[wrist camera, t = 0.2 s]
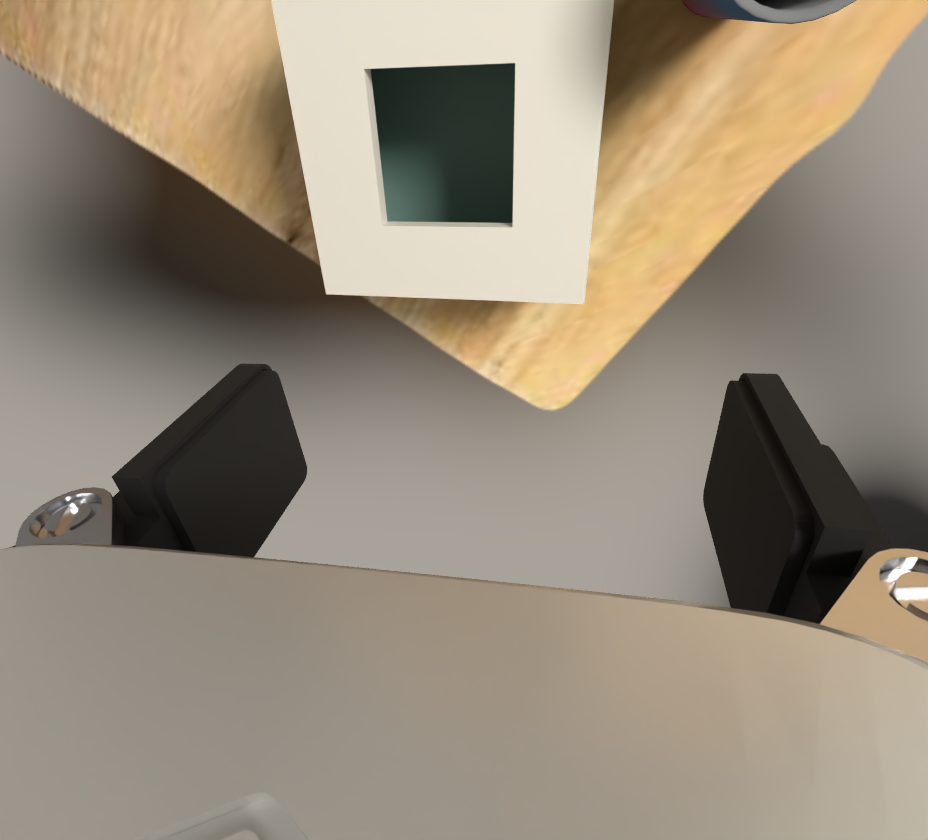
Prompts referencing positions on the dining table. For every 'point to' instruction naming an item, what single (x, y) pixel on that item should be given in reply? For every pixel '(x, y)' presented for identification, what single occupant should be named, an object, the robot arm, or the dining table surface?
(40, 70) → the dining table surface
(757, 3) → the cup
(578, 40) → the green and cream box
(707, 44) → the dining table surface
